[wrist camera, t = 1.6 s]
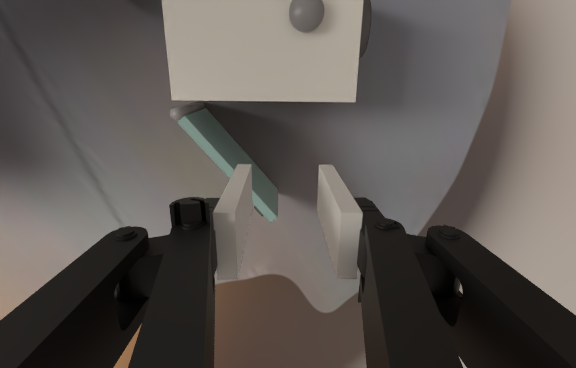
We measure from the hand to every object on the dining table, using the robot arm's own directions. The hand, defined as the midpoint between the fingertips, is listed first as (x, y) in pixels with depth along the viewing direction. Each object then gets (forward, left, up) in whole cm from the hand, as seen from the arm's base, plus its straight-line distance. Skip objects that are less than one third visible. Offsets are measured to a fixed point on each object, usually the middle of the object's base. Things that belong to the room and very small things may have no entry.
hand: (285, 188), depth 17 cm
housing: (-1, +9, -17) cm, 19 cm away
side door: (-5, -2, -16) cm, 17 cm away
